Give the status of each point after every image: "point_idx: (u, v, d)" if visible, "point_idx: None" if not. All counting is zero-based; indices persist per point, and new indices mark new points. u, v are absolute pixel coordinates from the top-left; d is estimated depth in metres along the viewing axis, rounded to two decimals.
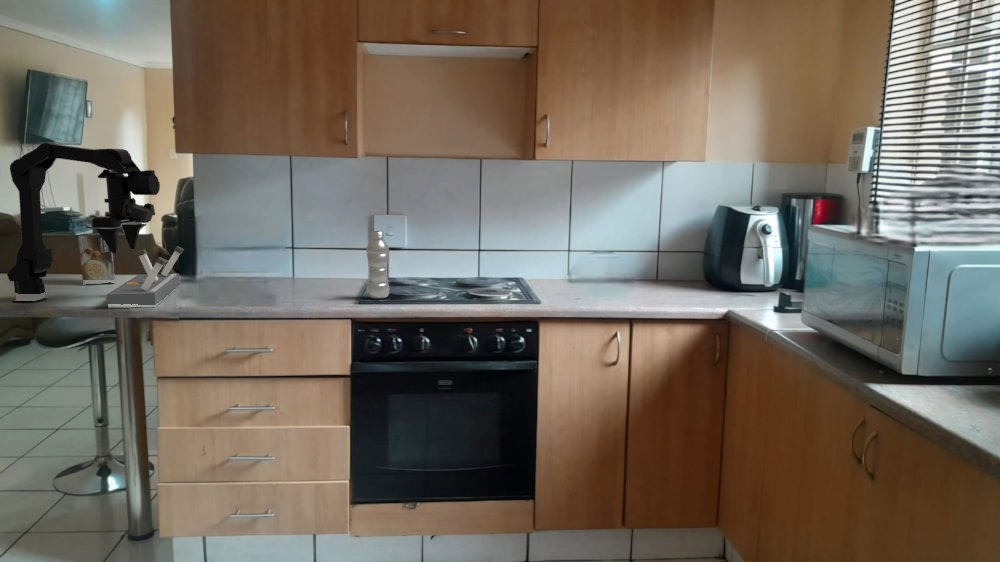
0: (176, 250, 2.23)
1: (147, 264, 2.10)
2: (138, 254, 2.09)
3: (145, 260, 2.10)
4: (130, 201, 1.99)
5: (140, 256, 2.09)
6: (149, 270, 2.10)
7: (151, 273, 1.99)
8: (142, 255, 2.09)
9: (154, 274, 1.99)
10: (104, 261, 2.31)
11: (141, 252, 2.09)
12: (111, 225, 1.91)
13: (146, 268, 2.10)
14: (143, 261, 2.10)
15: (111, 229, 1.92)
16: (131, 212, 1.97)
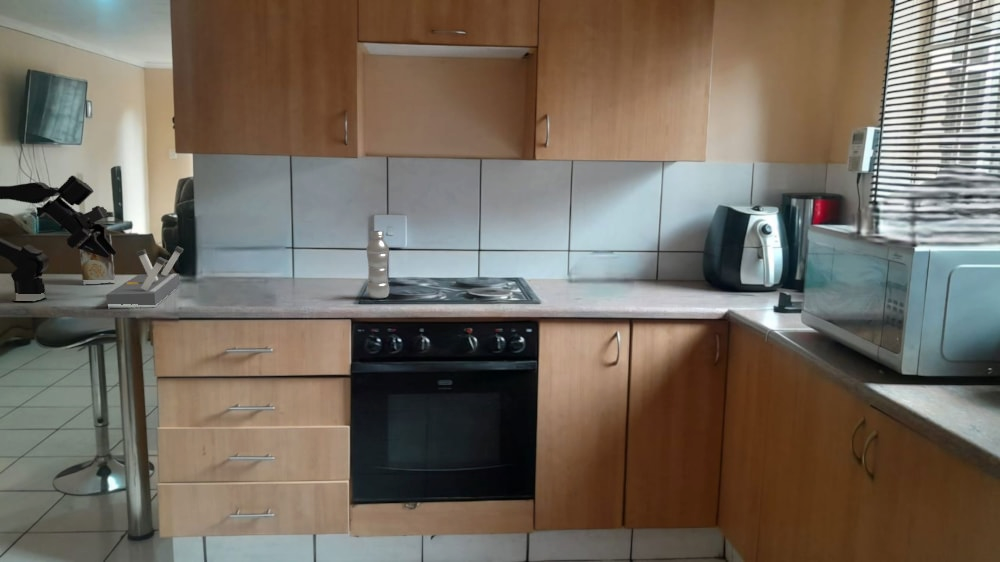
0: (176, 250, 2.23)
1: (147, 264, 2.10)
2: (138, 254, 2.09)
3: (145, 260, 2.10)
4: (79, 214, 2.05)
5: (140, 256, 2.09)
6: (149, 270, 2.10)
7: (151, 273, 1.99)
8: (142, 255, 2.09)
9: (154, 274, 1.99)
10: (104, 261, 2.31)
11: (141, 252, 2.09)
12: (85, 232, 1.98)
13: (146, 268, 2.10)
14: (143, 261, 2.10)
15: (89, 237, 2.00)
16: (89, 218, 2.03)
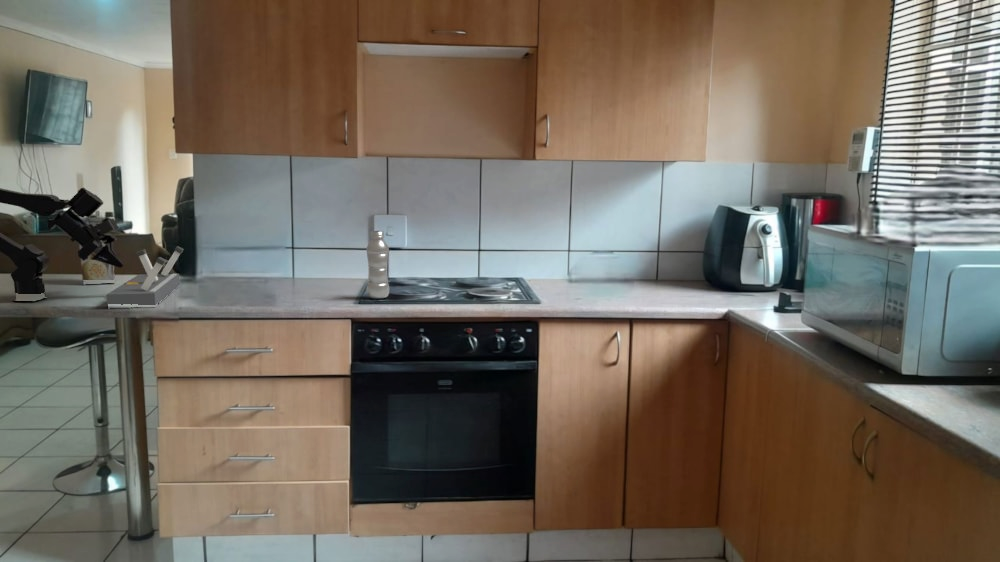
0: (176, 250, 2.23)
1: (147, 264, 2.10)
2: (138, 254, 2.09)
3: (145, 260, 2.10)
4: (90, 226, 2.06)
5: (140, 256, 2.09)
6: (149, 270, 2.10)
7: (151, 273, 1.99)
8: (142, 255, 2.09)
9: (154, 274, 1.99)
10: None
11: (141, 252, 2.09)
12: (96, 244, 1.99)
13: (146, 268, 2.10)
14: (143, 261, 2.10)
15: (103, 247, 2.04)
16: (99, 230, 2.04)
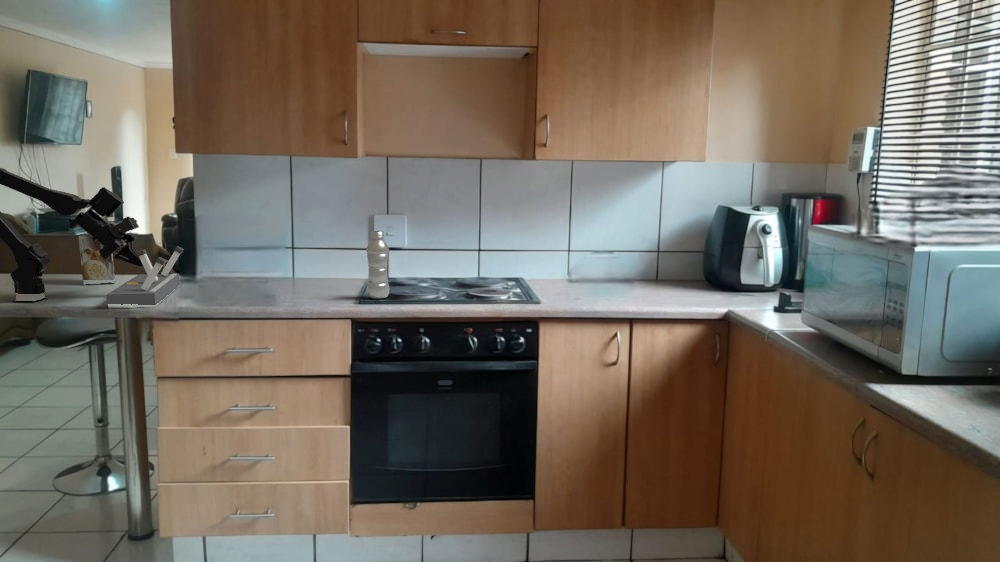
0: (176, 250, 2.23)
1: (147, 264, 2.10)
2: (138, 254, 2.09)
3: (145, 260, 2.10)
4: (110, 225, 2.07)
5: (140, 256, 2.09)
6: (149, 270, 2.10)
7: (151, 273, 1.99)
8: (142, 255, 2.09)
9: (154, 274, 1.99)
10: (104, 261, 2.31)
11: (141, 252, 2.09)
12: (117, 243, 2.00)
13: (146, 268, 2.10)
14: (143, 261, 2.10)
15: (124, 246, 2.06)
16: (120, 229, 2.06)
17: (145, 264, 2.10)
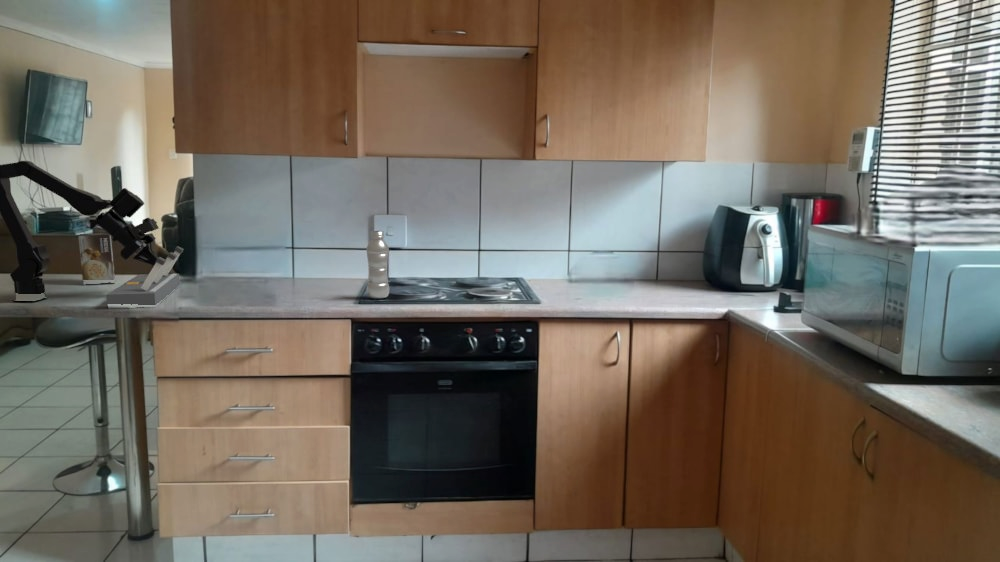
0: (176, 250, 2.23)
1: (165, 267, 2.11)
2: (169, 255, 2.11)
3: (168, 264, 2.11)
4: (131, 226, 2.09)
5: (168, 258, 2.11)
6: (161, 272, 2.11)
7: (151, 273, 1.99)
8: (170, 259, 2.11)
9: (154, 274, 1.99)
10: (104, 261, 2.31)
11: (172, 257, 2.11)
12: (138, 244, 2.01)
13: (161, 269, 2.11)
14: (165, 263, 2.11)
15: (144, 247, 2.07)
16: (140, 230, 2.07)
17: (164, 266, 2.11)
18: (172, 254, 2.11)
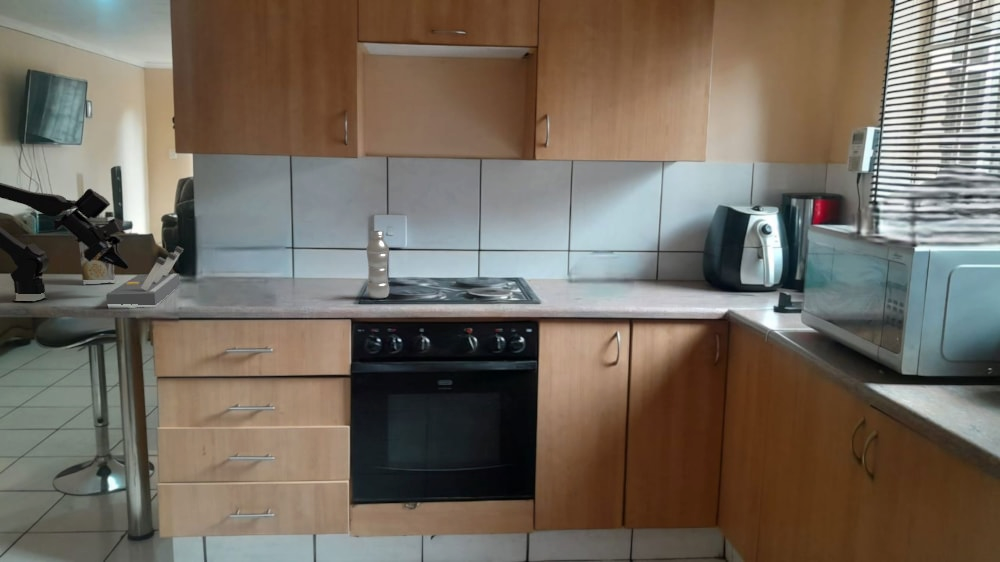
0: (176, 250, 2.23)
1: (165, 267, 2.11)
2: (169, 255, 2.11)
3: (168, 264, 2.11)
4: (96, 227, 2.07)
5: (168, 258, 2.11)
6: (161, 272, 2.11)
7: (151, 273, 1.99)
8: (170, 259, 2.11)
9: (154, 274, 1.99)
10: None
11: (172, 257, 2.11)
12: (102, 246, 1.99)
13: (161, 269, 2.11)
14: (166, 263, 2.11)
15: (109, 248, 2.05)
16: (105, 231, 2.05)
17: (164, 266, 2.11)
18: (172, 254, 2.11)
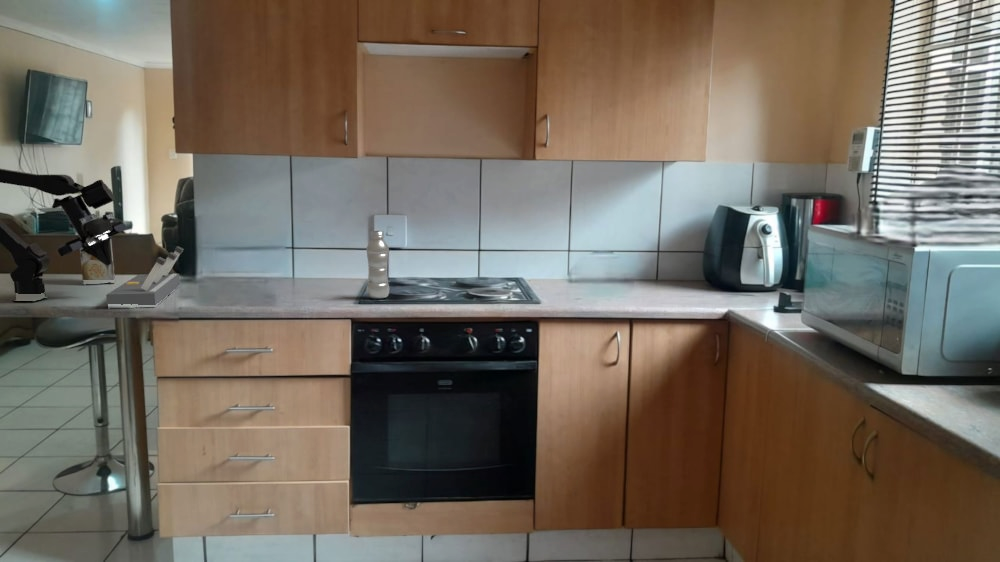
0: (176, 250, 2.23)
1: (165, 267, 2.11)
2: (169, 255, 2.11)
3: (168, 264, 2.11)
4: (89, 218, 2.04)
5: (168, 258, 2.11)
6: (161, 272, 2.11)
7: (151, 273, 1.99)
8: (170, 259, 2.11)
9: (154, 274, 1.99)
10: None
11: (172, 257, 2.11)
12: (69, 250, 1.97)
13: (161, 269, 2.11)
14: (166, 263, 2.11)
15: (88, 247, 2.03)
16: (88, 229, 2.01)
17: (164, 266, 2.11)
18: (172, 254, 2.11)
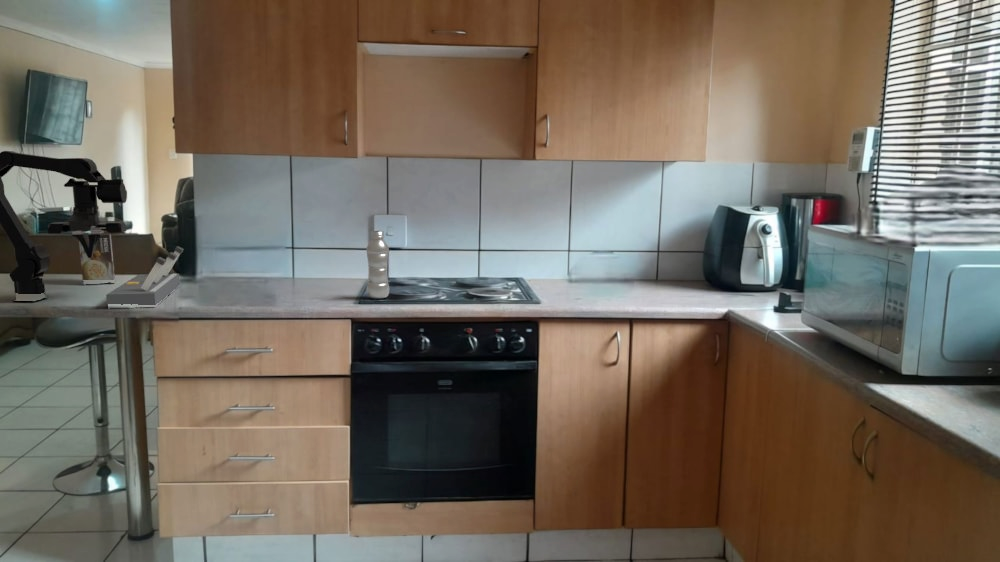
0: (176, 250, 2.23)
1: (165, 267, 2.11)
2: (169, 255, 2.11)
3: (168, 264, 2.11)
4: (84, 210, 2.01)
5: (168, 258, 2.11)
6: (161, 272, 2.11)
7: (151, 273, 1.99)
8: (170, 259, 2.11)
9: (154, 274, 1.99)
10: (104, 261, 2.31)
11: (172, 257, 2.11)
12: (48, 231, 2.00)
13: (161, 269, 2.11)
14: (166, 263, 2.11)
15: None
16: None
17: (164, 266, 2.11)
18: (172, 254, 2.11)
